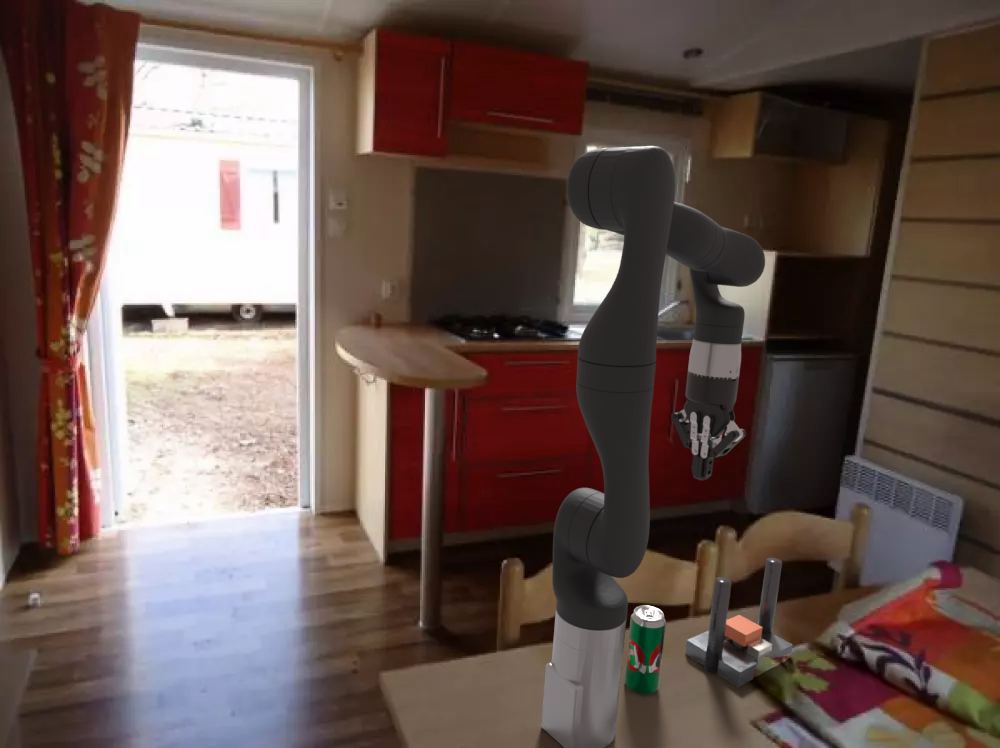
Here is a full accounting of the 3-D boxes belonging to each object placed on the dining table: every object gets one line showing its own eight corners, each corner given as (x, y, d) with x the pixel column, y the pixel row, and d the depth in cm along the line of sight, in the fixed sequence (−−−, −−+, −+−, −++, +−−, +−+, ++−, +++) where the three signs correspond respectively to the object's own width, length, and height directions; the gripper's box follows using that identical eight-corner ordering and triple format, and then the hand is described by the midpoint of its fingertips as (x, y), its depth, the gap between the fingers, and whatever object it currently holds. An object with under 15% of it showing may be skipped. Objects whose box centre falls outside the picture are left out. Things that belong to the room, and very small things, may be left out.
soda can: (656, 677, 108) (664, 605, 106) (660, 698, 104) (668, 623, 101) (623, 674, 109) (630, 602, 107) (625, 695, 104) (632, 620, 102)
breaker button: (742, 661, 112) (745, 635, 111) (719, 647, 116) (722, 622, 115) (759, 652, 115) (762, 627, 114) (735, 639, 118) (739, 614, 117)
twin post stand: (734, 689, 107) (746, 597, 104) (681, 655, 115) (691, 569, 112) (793, 656, 116) (806, 571, 113) (741, 628, 124) (752, 547, 121)
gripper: (663, 364, 111) (652, 469, 115) (735, 381, 101) (721, 496, 104) (694, 361, 116) (683, 462, 119) (766, 377, 105) (751, 487, 109)
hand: (701, 478), depth 112 cm, fingers closed
